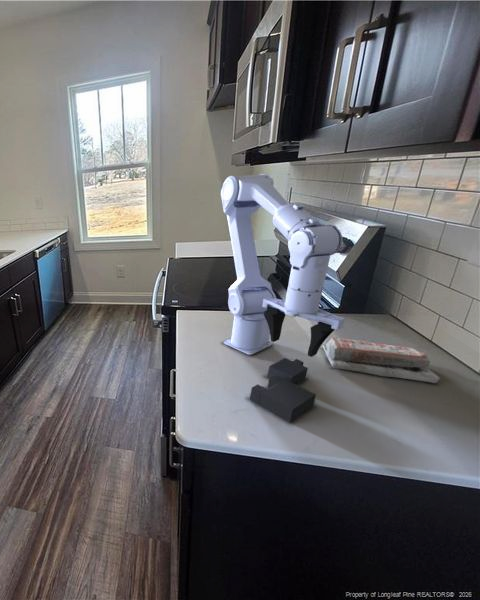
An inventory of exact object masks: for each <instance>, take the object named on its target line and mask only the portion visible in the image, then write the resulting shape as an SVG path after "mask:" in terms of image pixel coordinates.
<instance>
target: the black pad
mask: <svg viewBox="0 0 480 600" xmlns="http://www.w3.org/2000/svg"><path fill="white" fill-rule="evenodd" d="M267 383H268V384H267V388H266V387H264V386H261V385H260V384H255V385H253V386H252V387H251V388H250V397H249V401H252V402H254V404H257V405H258V406H260V407H262V408H263V409H265V410H267V411H268V412H271V413H272V414H274V415H276V416H277V417H279V418H281V419H282V420H284V421H285V422H287V423H289V424H291V423H292V422H293V421H295V420H296V419H298V417H301V416H302V415H304V414H305V413H307V411H309V410H310V409H312V408H313V407H314V404H315V401H316V397H317V394H316V393H315V392H313V391H310V390H308V389H306V388H305V387H302V386H300V385H298V384H297V385H296V384H294V383H292V382H290V381H287V380H285V379H283V378H281V377H279V376H277V375H273V376H272V377H270V378H268V382H267Z"/></svg>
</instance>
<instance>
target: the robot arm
mask: <svg viewBox="0 0 480 600" xmlns="http://www.w3.org/2000/svg"><path fill="white" fill-rule="evenodd" d="M220 198H221V203H222V208H223V209H222V210H223V213H224V214H225V215H226V218H227V224H228V230H229V236H230V242H231V248H232V254H233V261H234V267H235V273H236V280H235V281H234V283H233V284H231V285H230V287H229V288H228V300H227V304H228V309H229V311H230V313H231V314H232V315H233V323H232V330H231V338H229V339H226V340H224V341H223V344H224V345H226V346H229V347H231V348H233V349H235V350H238V351H239V352H241V353H244V354H246V355H249V356H253V355H254V354H257V353H259V352H260V351H262V350H265V349H267V348H268V347H271V346H273V343H275V342H277V341H279V340H280V338H281V334H282V329H283V324H284V321H285V318H286V315H287V316H289V317H293V318H295V317H298V318H301V319H305V320H308V321H310V322H313V323H317V324H314V325H312V326H311V327H310V342H309V347H308V350H307V356H308V357H311V358H312V357H314V356H316V355H317V354H318V352H319V350H320V348H321V346H323V344H324V342H325V341H326V340H327V339H328V337H329V336H330V335H332V334H333V333H334V332H335V331H338V330H340V329H341V330H342V328H344V327H343V326H344V323H345V319H346V318H344V317H341V316H339V315H336V314H333V313H331V312H329V311H327V310H324V309H322V308H320V303H321V298H322V294H323V290H324V285H325V281H326V276H327V273H328V268H329V263H330V260H331V256H333V255H335V254H337V253H338V252H339V251H340V249H341V247H342V245H343V235H342V232H341V231H340V229H339V228H338V227H337V226H336V225H335V224H325V223H324V222H323V223H321V222H320V220H319V219H318V218H316V217H314V216H313V215H312V214H311V213H309V212H308V211H307V209H305V205H304V204H303V203H296V202H293V203H289V201H287V200H286V199H285V198H284V196H282V194H281V193H280V192H279V191H278V190H277V189H276V187H275V186H274V179H273V178H272V177H271V176H270V175H269V174H267V173H260V174H250V175H229V176H228V177H226V179H225V180H224V182H223V183H222V187H221V189H220ZM261 207H262V208H263V209H264V210H265V211H267V212H268V213H269V214H270V215H271V216H273V217H272V225H273V227H275V228H276V230H278V231H279V232H280V233H281V234H282V235H283V236H284V238H285V239H286V240H287V241H288V242H287V248H288V251H289V256H290V257H289V262H290V263H289V264H290V266H291V268H290V273H289V278H288V285H287V289H286V290H287V291H286V294H285V299H279V298H277V296H276V294H275V292H274V291H273V288H272V283H271V282H270V281H268V280H267V279H266V278H264V277H262V276H261V272H260V271H261V270H260V266H259V261H258V254H257V247H256V243H255V242H256V241H255V237H254V231H253V225H252V219H251V218H252V215H253V214H254V213H256V212H258V210H260V208H261ZM272 342H273V343H272Z"/></svg>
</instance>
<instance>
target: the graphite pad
mask: <svg viewBox="0 0 480 600" xmlns="http://www.w3.org/2000/svg"><path fill="white" fill-rule="evenodd" d="M308 369H309V367H307V366H304V361H302V360H301V359H298V358H295V359H294V360H290V359H288V358H286V357H284V358H282V359H280V360H278V361H275V362H274V363H273V364H270V365H269V366H268V371H267V379H269V378H270V377H272V376H273V375H277V376H279V377H281V378H283V379H285V380H287V381H290V382H292V383H294V384H296V385H298V384H300V383H301V382H303V381H305V380H306V379H307V374H308Z"/></svg>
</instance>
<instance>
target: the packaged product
mask: <svg viewBox="0 0 480 600" xmlns="http://www.w3.org/2000/svg"><path fill="white" fill-rule="evenodd" d="M322 349H323V351H324V353H325V355H326V357H327V360H328V362H329V364H330V365H331V367H332V369H339V370H347V371H352V372H359V373H363V374H364V373H365V374H370V375H373V376H380V377H387V378H399V379H405V380H411V381H417V382H418V381H419V382H425V383H430V384H437V383H438V381H439V380H440V377H439V376H438V375H437V374H436V373H434V372H433V371H432V370H431V369H430V368H429V365H430V363H431V361H430V359H429V358H428V356H427V354H426V353H425V352H423V351H420V350H418V349H416V348H412V347H408V346H407V347H406V346H401V345H391V344H384V343H378V342H376V343H375V342H369V341H362V340H354V339H348V338H347V339H346V338H339V337H331V338H330V340H328V341H327V342H326V344H324V343H322Z"/></svg>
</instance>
